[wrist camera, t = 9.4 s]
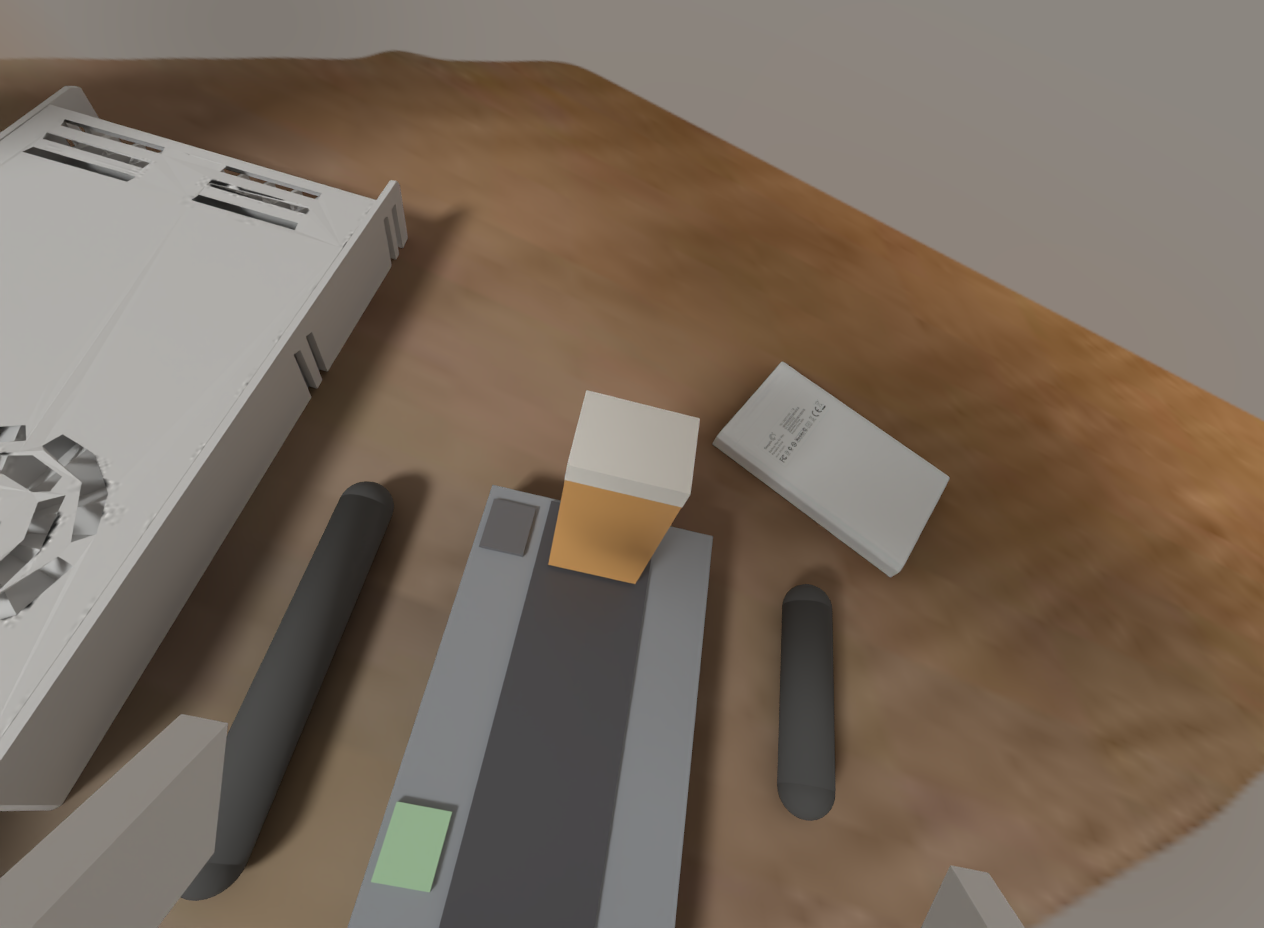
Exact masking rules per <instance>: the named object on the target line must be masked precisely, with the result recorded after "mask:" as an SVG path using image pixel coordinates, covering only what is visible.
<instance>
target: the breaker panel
mask: <svg viewBox="0 0 1264 928" xmlns="http://www.w3.org/2000/svg"><path fill="white" fill-rule="evenodd" d="M560 502H561V501H560V500H555V499H551V498H547V497H543V496H538V495H534V494H530V493H525V492H521V491H517V490H512V489H508V488H504V487H500V486H495V485H492V488H491V491H490V494H489V497H488V500H487V503H486V507H485V510H484V513H483V516H482V519H481V522H480V525H479V528H478V531H477V534H476V537H475V540H474V543H473V546H472V549H471V552H470V555H469V558H468V561H467V565H466V568H465V571H464V574H463V577H462V580H461V583H460V586H459V589H458V592H457V595H456V598H455V601H454V604H453V607H452V610H451V613H450V616H449V620H448V623H447V626H446V629H445V632H444V635H443V638H442V641H441V644H440V647H439V650H438V653H437V656H436V659H435V662H434V665H433V668H432V671H431V674H430V678H429V681H428V684H427V687H426V690H425V693H424V696H423V699H422V702H421V705H420V708H419V711H418V714H417V717H416V720H415V723H414V726H413V729H412V732H411V736H410V739H409V742H408V745H407V748H406V751H405V754H404V757H403V760H402V763H401V766H400V769H399V772H398V775H397V778H396V781H395V784H394V787H393V790H392V794H391V797H390V800H389V803H388V806H387V809H386V812H385V815H384V818H383V821H382V824H381V827H380V830H379V833H378V836H377V839H376V842H375V845H374V849H373V852H372V855H371V858H370V861H369V864H368V867H367V870H366V873H365V876H364V879H363V882H362V885H361V888H360V891H359V894H358V897H357V900H356V903H355V907H354V910H353V913H352V916H351V919H350V922H349V925H348V928H675V920H676V909H677V899H678V889H679V879H680V868H681V858H682V848H683V838H684V827H685V817H686V807H687V797H688V786H689V776H690V766H691V756H692V745H693V735H694V725H695V715H696V705H697V694H698V684H699V674H700V664H701V653H702V643H703V633H704V623H705V612H706V602H707V592H708V582H709V571H710V561H711V551H712V541H713V536H710V535H705V534H701V533H697V532H693V531H688V530H684V529H680V528H675V527H671V526H670V527H669V529H668V531H667V532H666V534H665V536H664V537H663V539H662V541H661V542H660V544H659V546H658V547H657V549H656V551H655V552H654V554H653V555H652V557H651V559H650V560H649V562H648V564H647V565H646V567H645V569H644V570H643V572H642V574H641V575H640V577H639V579H638V580H637V582H636V584H632V583H628V582H623V581H619V580H614V579H610V578H606V577H601V576H597V575H592V574H588V573H583V572H579V571H574V570H570V569H565V568H561V567H556V566H552V565H548V563H549V558H550V553H551V548H552V543H553V538H554V533H555V528H556V523H557V518H558V513H559V507H560Z"/></svg>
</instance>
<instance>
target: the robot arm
mask: <svg viewBox="0 0 1264 928" xmlns="http://www.w3.org/2000/svg"><path fill="white" fill-rule="evenodd" d="M227 728H228V723H225V722H220V721H215V720H210V719H205V718H200V717H194V716H189V715H184V714H181V715H179V716H178V717H177V718H176V719H175V720H174V721H173V722H172V723H171V724H170V725H168V726H167V727H166V728H165V729H164V730H163V731H162V732H161V733H160V734H159V735H157V736H156V737H155V738H154V739H153V740H152V741H151V742H150V743H149V744H148V745H146V746H145V747H144V748H143V749H142V750H141V751H140V752H139V753H138V754H137V755H135V756H134V757H133V758H132V759H131V760H130V761H129V762H128V763H127V764H126V765H124V766H123V767H122V768H121V769H120V770H119V771H118V772H117V773H116V774H115V775H113V776H112V777H111V778H110V779H109V780H108V781H107V782H106V783H105V784H104V785H102V786H101V787H100V788H99V789H98V790H97V791H96V792H95V793H94V794H93V795H91V796H90V797H89V798H88V799H87V800H86V801H85V802H84V803H83V804H82V805H80V806H79V807H78V808H77V809H76V810H75V811H74V812H73V813H72V814H71V815H69V816H68V817H67V818H66V819H65V820H64V821H63V822H62V823H61V824H59V825H58V826H57V827H56V828H55V829H54V830H53V831H52V832H51V833H50V834H48V835H47V836H46V837H45V838H44V839H43V840H42V841H41V842H40V843H39V844H37V845H36V846H35V847H34V848H33V849H32V850H31V851H30V852H29V853H28V854H26V855H25V856H24V857H23V858H22V859H21V860H20V861H19V862H18V863H17V864H15V865H14V866H13V867H12V868H11V869H10V870H9V871H8V872H7V873H6V874H4V875H3V876H2V877H1V878H0V928H157V927H158V926H159V925H160V923H161V922H162V921H163V919H164V918H165V917H166V915H167V914H168V913H169V911H170V910H171V909H172V908H173V906H174V905H175V904H176V902H177V901H178V900H179V898H180V897H181V896H182V894H183V893H184V892H185V890H186V889H187V888H188V886H189V885H190V884H191V882H192V881H193V880H194V878H195V877H196V876H197V874H198V873H199V872H200V870H201V869H202V868H203V867H204V865H205V864H206V863H207V861H208V860H209V859H210V857H211V856H212V855H213V853H214V850H215V841H216V831H217V822H218V812H219V803H220V794H221V784H222V775H223V765H224V756H225V746H226V737H227ZM921 928H1024V926H1023V925H1022V923H1021V921H1020V920H1019V918H1018V917H1017V915H1016V914H1015V912H1014V911H1013V909H1012V908H1011V906H1010V905H1009V903H1008V902H1007V900H1006V899H1005V897H1004V896H1003V894H1002V893H1001V891H1000V890H999V888H998V887H997V885H996V884H995V882H994V880H993V879H992V877H991V876H990V874H989V873H986V872H981V871H976V870H971V869H966V868H961V867H956V866H951V865H950V867H949V870H948V872H947V874H946V876H945V878H944V880H943V882H942V884H941V886H940V889H939V891H938V893H937V895H936V897H935V899H934V901H933V903H932V905H931V908H930V910H929V912H928V914H927V916H926V918H925V920H924V922H923V924H922V927H921Z"/></svg>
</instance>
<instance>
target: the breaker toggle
mask: <svg viewBox="0 0 1264 928" xmlns="http://www.w3.org/2000/svg"><path fill="white" fill-rule="evenodd" d="M699 422H700V418H696V417H692V416H688V415H684V414H680V413H676V412H672V411H668V410H664V409H660V408H656V407H652V406H648V405H644V404H640V403H636V402H632V401H628V400H624V399H620V398H616V397H612V396H608V395H604V394H600V393H596V392H592V391H588V390H586V394H585V398H584V402H583V405H582V409H581V413H580V417H579V421H578V425H577V429H576V433H575V437H574V441H573V444H572V448H571V452H570V456H569V460H568V464H567V469H566V474H565V479H564V480H565V482H564V487H563V492H562V497H561V502H560V507H559V513H558V518H557V523H556V528H555V533H554V538H553V543H552V548H551V553H550V558H549V563H548V565H552V566H556V567H561V568H565V569H570V570H574V571H579V572H583V573H588V574H592V575H597V576H601V577H606V578H610V579H614V580H619V581H623V582H628V583H632V584H636V582H637V580H638V579H639V577H640V575H641V574H642V572H643V570H644V569H645V567H646V565H647V564H648V562H649V560H650V559H651V557H652V555H653V554H654V552H655V551H656V549H657V547H658V546H659V544H660V542H661V541H662V539H663V537H664V536H665V534H666V532H667V531H668V529H669V527H670V526H671V524H672V522H673V521H674V519H675V518H676V516H677V514H678V513H679V511H680V509H681V508H682V507H683V506H684V504H685V503H686V501H687V499H688V498H689V496H690V494H691V486H692V478H693V470H694V462H695V454H696V446H697V438H698V430H699Z"/></svg>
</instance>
